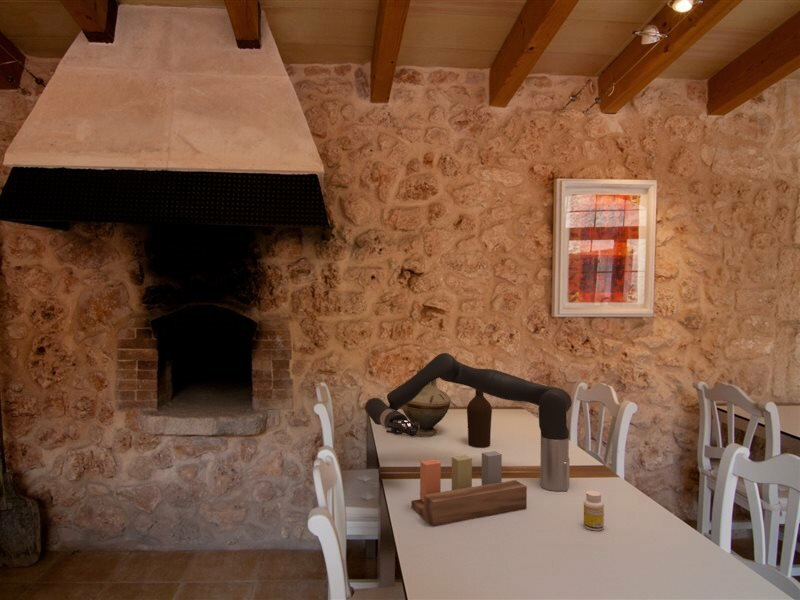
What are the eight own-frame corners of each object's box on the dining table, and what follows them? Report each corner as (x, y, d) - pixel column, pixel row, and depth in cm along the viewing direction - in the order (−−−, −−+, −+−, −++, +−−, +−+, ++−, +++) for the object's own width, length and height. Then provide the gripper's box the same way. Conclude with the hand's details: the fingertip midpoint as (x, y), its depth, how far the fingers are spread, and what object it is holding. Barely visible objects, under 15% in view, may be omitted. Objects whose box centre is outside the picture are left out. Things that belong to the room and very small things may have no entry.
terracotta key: (420, 499, 171) (420, 461, 171) (434, 497, 173) (434, 459, 173) (425, 504, 167) (425, 465, 167) (440, 501, 169) (440, 462, 169)
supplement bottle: (587, 521, 161) (588, 488, 161) (606, 526, 157) (606, 492, 157) (580, 527, 157) (580, 493, 156) (599, 533, 153) (600, 498, 153)
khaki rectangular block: (451, 494, 175) (451, 456, 175) (465, 492, 177) (465, 455, 177) (457, 498, 172) (457, 460, 171) (471, 496, 174) (471, 458, 173)
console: (411, 507, 171) (411, 484, 171) (499, 492, 184) (499, 471, 183) (433, 526, 157) (433, 502, 157) (526, 508, 170) (526, 486, 170)
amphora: (404, 443, 243) (410, 377, 240) (391, 425, 266) (396, 364, 262) (454, 442, 249) (460, 377, 246) (437, 424, 272) (442, 364, 269)
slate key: (481, 489, 180) (481, 452, 179) (494, 487, 182) (494, 451, 181) (488, 493, 176) (488, 456, 176) (501, 491, 178) (501, 454, 178)
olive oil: (479, 449, 231) (480, 390, 230) (461, 444, 239) (461, 386, 239) (496, 445, 238) (497, 387, 237) (478, 439, 246) (478, 384, 245)
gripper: (376, 412, 194) (395, 423, 178) (410, 409, 199) (432, 420, 183) (376, 433, 194) (395, 447, 178) (410, 429, 199) (431, 442, 183)
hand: (413, 433), depth 181 cm, fingers closed
